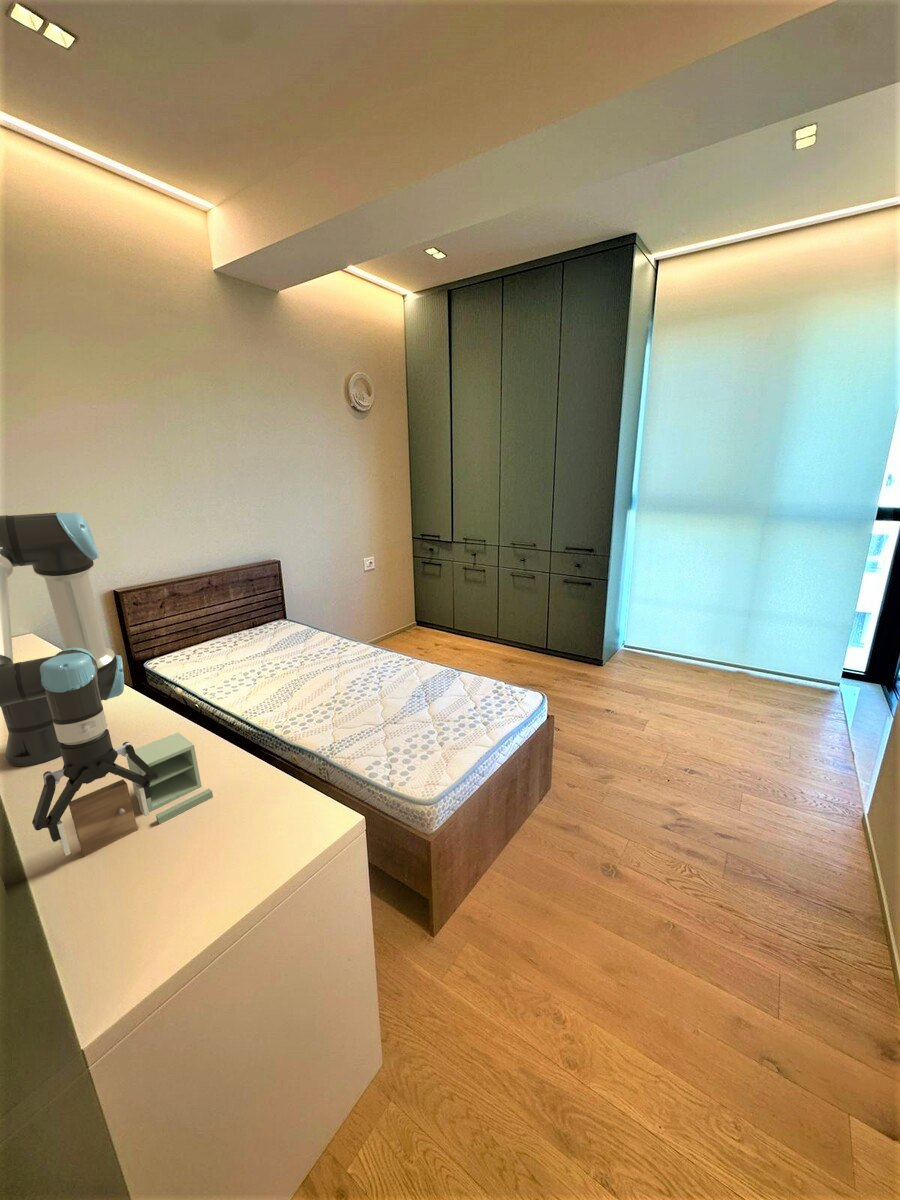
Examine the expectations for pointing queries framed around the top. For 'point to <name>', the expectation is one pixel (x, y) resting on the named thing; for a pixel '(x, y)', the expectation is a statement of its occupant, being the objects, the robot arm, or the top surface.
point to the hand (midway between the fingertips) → (108, 831)
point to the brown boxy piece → (103, 817)
